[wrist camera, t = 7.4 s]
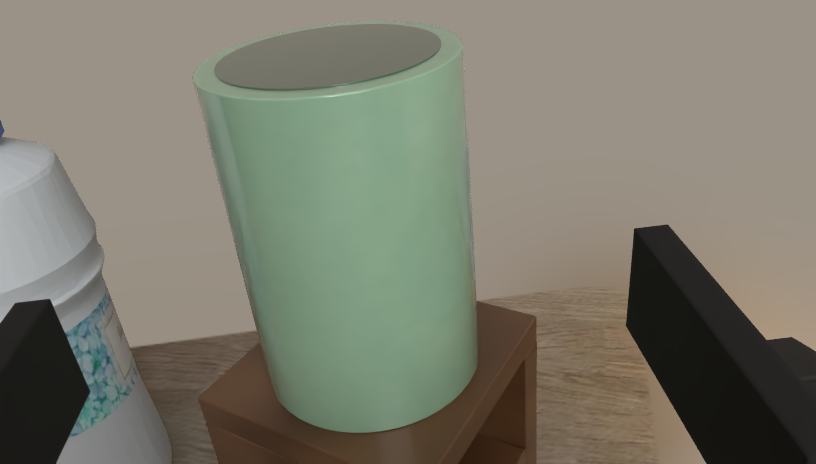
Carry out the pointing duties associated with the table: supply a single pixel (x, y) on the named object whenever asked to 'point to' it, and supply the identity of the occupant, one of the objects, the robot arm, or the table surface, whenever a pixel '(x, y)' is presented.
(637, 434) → the table surface
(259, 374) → the wooden nightstand
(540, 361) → the table surface
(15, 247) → the bottle
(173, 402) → the table surface
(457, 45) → the cup
